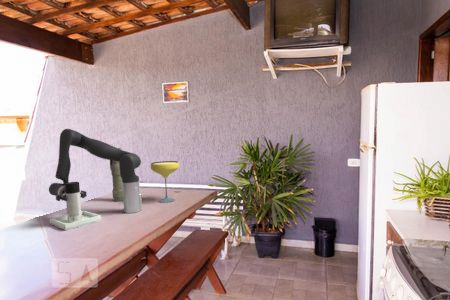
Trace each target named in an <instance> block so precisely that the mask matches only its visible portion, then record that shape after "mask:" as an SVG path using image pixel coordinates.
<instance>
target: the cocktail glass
mask: <svg viewBox="0 0 450 300" xmlns="http://www.w3.org/2000/svg"><path fill="white" fill-rule="evenodd" d="M179 168H180V163H179V161H177V160H176V161H175V160H174V161H173V160H169V161H168V160H165V161H164V160H163V161H155V162H151V163H150V170H151V171H152V172H154V173H156V174H159V175H161V176H162V178H164V181H165V183H164V184H165V196H164V197H165V198H161V199H158V203H163V204H164V203H167V204H168V203H172V202H175V201H176V199H175V198H171V197H168V190H167V189H168V188H167V179H168V177H169V176H170V175H171V174H172V173H174V172H176V171H177V170H178V169H179Z"/></svg>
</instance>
